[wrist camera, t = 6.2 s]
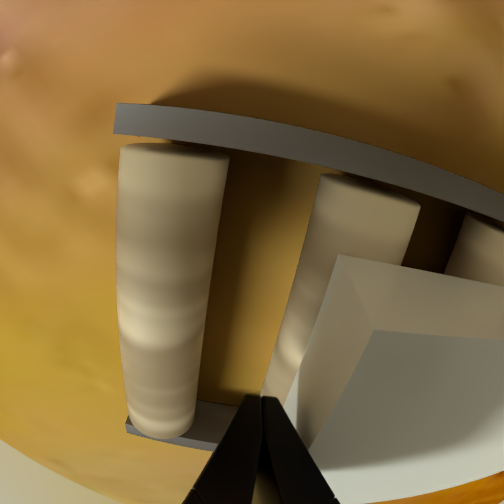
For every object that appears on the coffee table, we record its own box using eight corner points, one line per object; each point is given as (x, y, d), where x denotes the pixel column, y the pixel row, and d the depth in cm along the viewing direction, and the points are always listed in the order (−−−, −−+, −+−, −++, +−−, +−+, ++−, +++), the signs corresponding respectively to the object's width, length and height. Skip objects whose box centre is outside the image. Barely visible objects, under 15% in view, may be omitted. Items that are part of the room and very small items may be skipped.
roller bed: (507, 410, 16) (522, 438, 13) (140, 396, 15) (123, 442, 12) (599, 247, 10) (628, 268, 7) (148, 104, 9) (106, 102, 6)
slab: (524, 418, 12) (543, 453, 9) (268, 439, 11) (268, 506, 8) (597, 307, 8) (628, 338, 6) (338, 254, 8) (374, 329, 5)
